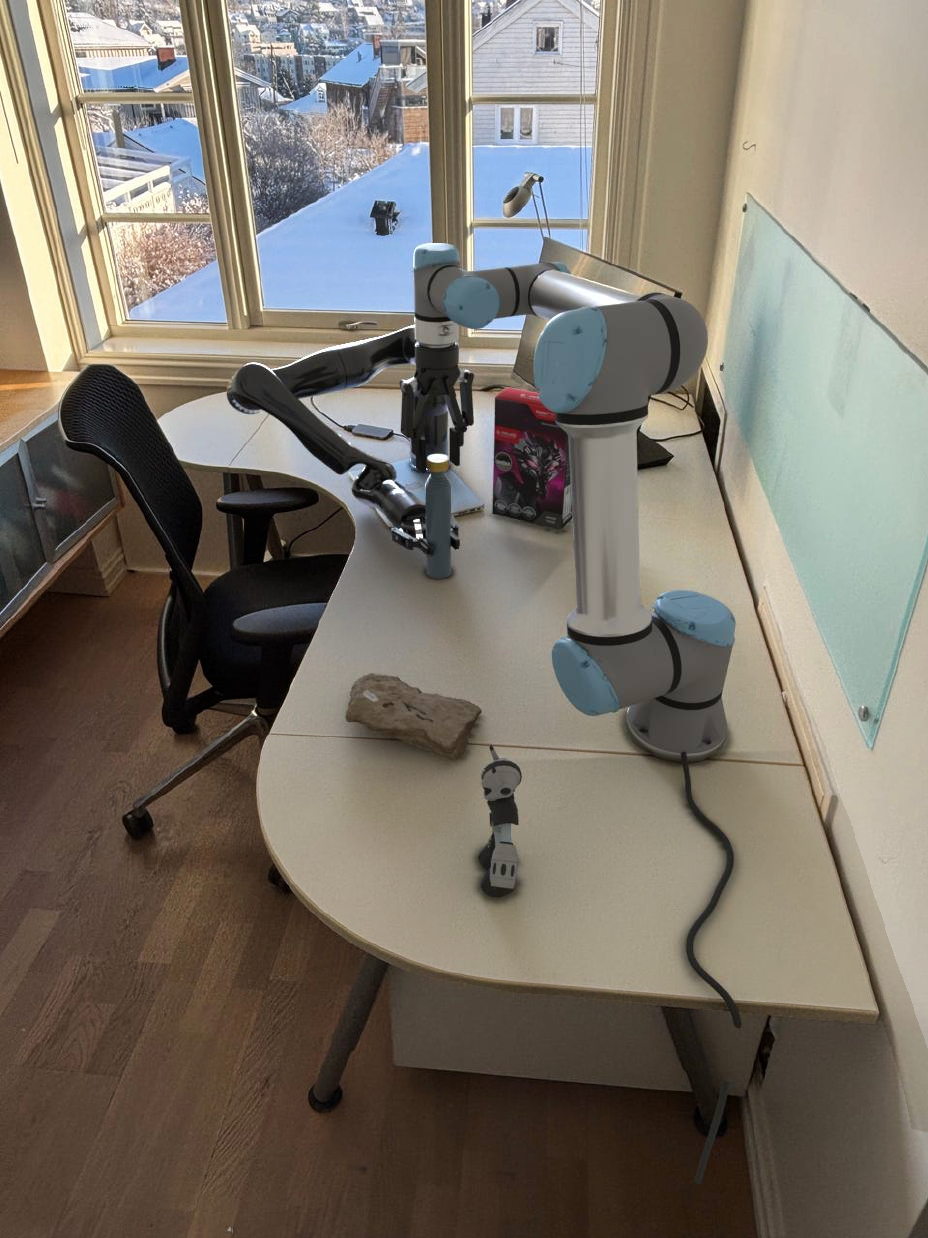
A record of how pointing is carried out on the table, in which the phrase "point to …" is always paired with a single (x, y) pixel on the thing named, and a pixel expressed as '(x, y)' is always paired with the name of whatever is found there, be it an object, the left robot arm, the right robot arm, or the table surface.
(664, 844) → the table surface
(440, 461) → the cap
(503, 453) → the graphics card box
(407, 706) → the stone
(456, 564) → the table surface
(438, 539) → the bottle
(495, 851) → the robot
